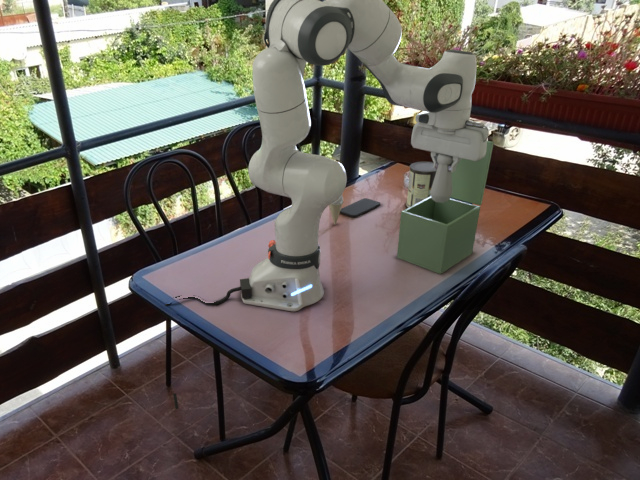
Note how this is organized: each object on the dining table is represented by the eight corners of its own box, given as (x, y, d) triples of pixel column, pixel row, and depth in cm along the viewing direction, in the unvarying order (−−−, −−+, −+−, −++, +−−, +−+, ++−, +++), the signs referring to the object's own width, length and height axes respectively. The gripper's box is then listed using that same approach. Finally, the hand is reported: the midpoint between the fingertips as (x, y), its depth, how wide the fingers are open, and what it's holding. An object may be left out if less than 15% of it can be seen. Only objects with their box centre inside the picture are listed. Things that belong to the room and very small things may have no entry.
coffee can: (431, 198, 199) (436, 160, 191) (440, 210, 190) (445, 170, 183) (402, 200, 200) (406, 162, 192) (409, 212, 191) (414, 172, 183)
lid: (492, 142, 146) (502, 138, 149) (442, 133, 156) (452, 129, 159) (480, 205, 156) (489, 200, 158) (434, 192, 165) (443, 188, 168)
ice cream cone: (333, 219, 190) (334, 177, 182) (345, 223, 187) (347, 181, 178) (324, 225, 187) (324, 182, 179) (336, 228, 184) (337, 185, 176)
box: (440, 274, 155) (447, 226, 147) (396, 257, 165) (401, 211, 157) (472, 253, 164) (480, 206, 156) (428, 238, 174) (434, 193, 166)
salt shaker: (450, 195, 156) (456, 150, 149) (452, 204, 152) (459, 157, 145) (428, 195, 158) (434, 150, 151) (430, 203, 153) (436, 157, 146)
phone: (381, 202, 197) (354, 215, 189) (381, 205, 197) (354, 218, 189) (364, 197, 202) (337, 210, 194) (364, 199, 202) (337, 212, 194)
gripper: (496, 121, 138) (486, 175, 145) (424, 109, 151) (418, 159, 158) (483, 127, 134) (473, 182, 142) (410, 114, 148) (405, 165, 155)
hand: (444, 169), depth 150 cm, fingers closed on salt shaker, 3 cm apart
